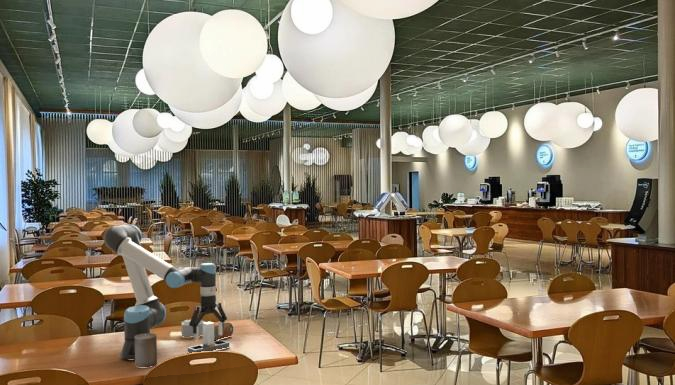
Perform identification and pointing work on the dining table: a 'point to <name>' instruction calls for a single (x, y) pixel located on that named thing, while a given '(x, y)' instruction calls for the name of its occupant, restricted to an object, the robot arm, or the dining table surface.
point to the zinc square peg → (208, 334)
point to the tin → (223, 331)
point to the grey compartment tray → (217, 345)
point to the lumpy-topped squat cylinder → (190, 328)
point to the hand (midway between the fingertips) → (208, 337)
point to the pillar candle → (145, 350)
